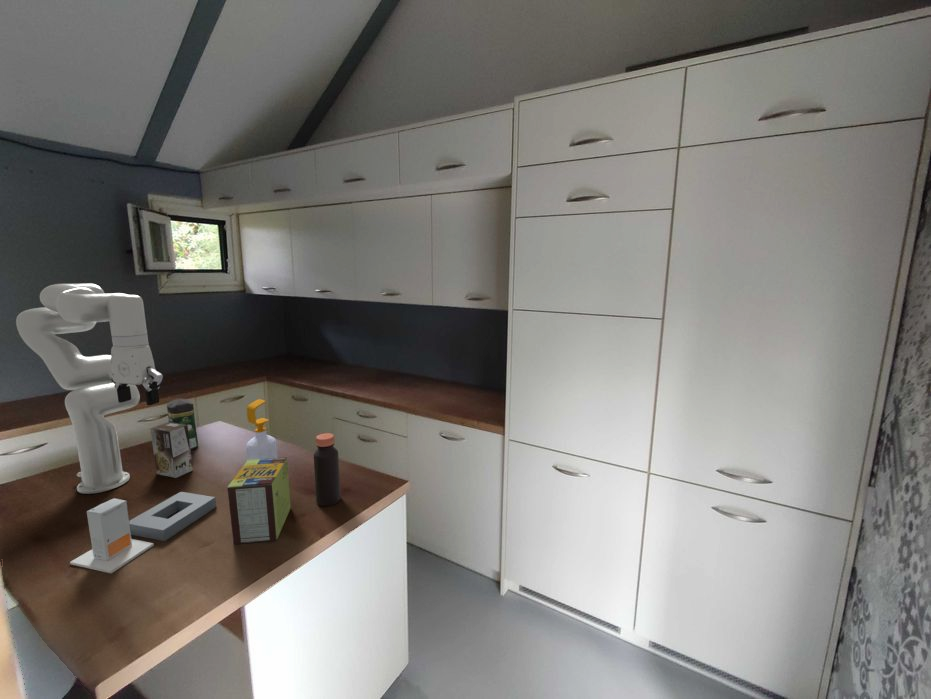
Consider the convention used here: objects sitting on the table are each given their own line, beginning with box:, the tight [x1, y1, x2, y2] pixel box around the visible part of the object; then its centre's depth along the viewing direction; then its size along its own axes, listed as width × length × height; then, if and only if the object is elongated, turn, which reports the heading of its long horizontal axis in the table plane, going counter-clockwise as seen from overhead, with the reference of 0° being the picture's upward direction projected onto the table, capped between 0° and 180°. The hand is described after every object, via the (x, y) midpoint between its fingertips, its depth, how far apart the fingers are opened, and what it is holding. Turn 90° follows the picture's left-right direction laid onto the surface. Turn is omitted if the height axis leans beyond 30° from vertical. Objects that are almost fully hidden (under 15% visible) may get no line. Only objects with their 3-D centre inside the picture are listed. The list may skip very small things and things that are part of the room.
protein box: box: [227, 457, 292, 545], centre depth 110 cm, size 10×15×16 cm
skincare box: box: [86, 498, 132, 561], centre depth 98 cm, size 6×4×12 cm
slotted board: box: [129, 491, 217, 542], centre depth 113 cm, size 12×16×3 cm
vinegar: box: [313, 432, 341, 507], centre depth 122 cm, size 7×7×20 cm
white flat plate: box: [69, 538, 155, 574], centre depth 99 cm, size 12×10×1 cm
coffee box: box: [149, 421, 194, 479], centre depth 139 cm, size 9×6×16 cm
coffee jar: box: [166, 398, 199, 450], centre depth 158 cm, size 10×8×19 cm
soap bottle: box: [246, 398, 279, 460], centre depth 139 cm, size 9×9×25 cm
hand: (139, 402), depth 116 cm, fingers open, 9 cm apart
